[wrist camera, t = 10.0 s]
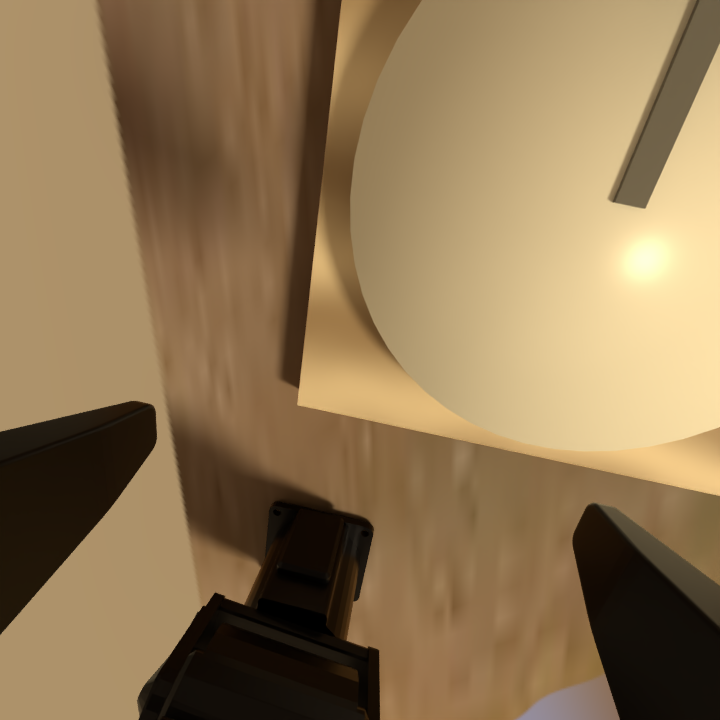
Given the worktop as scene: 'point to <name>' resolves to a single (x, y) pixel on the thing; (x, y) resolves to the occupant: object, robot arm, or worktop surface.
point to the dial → (549, 216)
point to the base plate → (353, 320)
